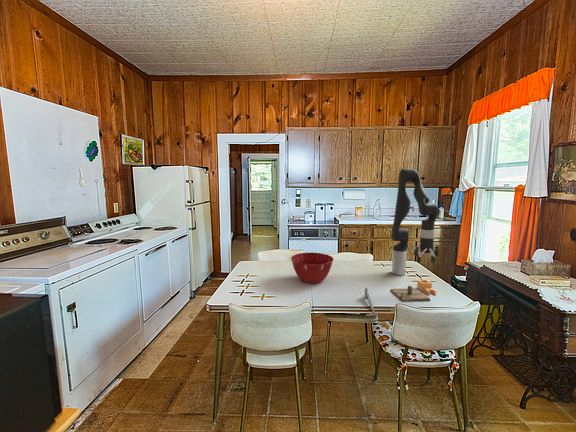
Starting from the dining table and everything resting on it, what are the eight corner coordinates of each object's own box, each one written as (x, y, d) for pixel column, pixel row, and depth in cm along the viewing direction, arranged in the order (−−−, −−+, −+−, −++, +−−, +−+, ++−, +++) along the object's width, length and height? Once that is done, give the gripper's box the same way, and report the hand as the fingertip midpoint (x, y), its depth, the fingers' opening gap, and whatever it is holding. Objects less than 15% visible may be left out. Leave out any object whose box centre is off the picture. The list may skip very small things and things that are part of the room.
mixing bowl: (331, 289, 184) (332, 265, 182) (286, 285, 190) (287, 262, 188) (334, 274, 211) (334, 253, 210) (294, 272, 217) (294, 251, 215)
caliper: (364, 297, 172) (364, 286, 171) (366, 297, 172) (366, 286, 171) (372, 312, 152) (373, 301, 151) (374, 313, 152) (375, 301, 151)
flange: (417, 287, 187) (417, 279, 186) (426, 287, 188) (426, 279, 187) (427, 295, 175) (427, 286, 175) (437, 294, 176) (437, 286, 175)
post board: (390, 290, 182) (391, 282, 181) (415, 290, 183) (416, 281, 182) (402, 301, 166) (403, 292, 165) (430, 300, 167) (430, 291, 166)
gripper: (434, 235, 184) (433, 260, 186) (412, 235, 183) (411, 261, 185) (441, 237, 177) (440, 264, 179) (419, 238, 176) (417, 264, 178)
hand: (425, 262), depth 182 cm, fingers open, 8 cm apart
